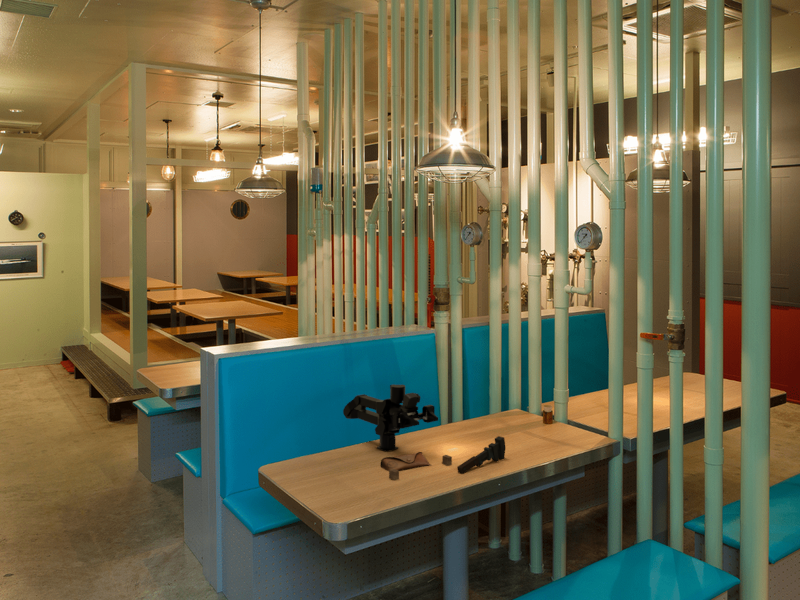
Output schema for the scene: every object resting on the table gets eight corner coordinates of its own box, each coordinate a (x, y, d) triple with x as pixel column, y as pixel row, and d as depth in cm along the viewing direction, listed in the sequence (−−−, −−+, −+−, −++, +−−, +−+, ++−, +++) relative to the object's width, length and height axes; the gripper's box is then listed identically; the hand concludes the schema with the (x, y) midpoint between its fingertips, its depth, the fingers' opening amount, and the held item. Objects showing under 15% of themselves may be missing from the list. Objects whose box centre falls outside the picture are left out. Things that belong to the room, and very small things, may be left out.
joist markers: (389, 478, 228) (389, 469, 228) (446, 462, 245) (446, 454, 245) (394, 480, 226) (394, 472, 226) (451, 464, 243) (451, 456, 242)
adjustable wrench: (459, 484, 235) (501, 455, 252) (464, 486, 234) (506, 457, 250) (455, 463, 234) (498, 436, 250) (461, 465, 232) (504, 437, 248)
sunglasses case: (391, 473, 233) (386, 455, 235) (383, 477, 238) (378, 460, 241) (433, 465, 242) (428, 447, 244) (424, 469, 247) (420, 452, 250)
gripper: (383, 395, 247) (408, 403, 235) (420, 389, 258) (447, 396, 246) (383, 424, 248) (408, 433, 236) (420, 416, 259) (447, 425, 247)
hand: (428, 421), depth 241 cm, fingers open, 9 cm apart
